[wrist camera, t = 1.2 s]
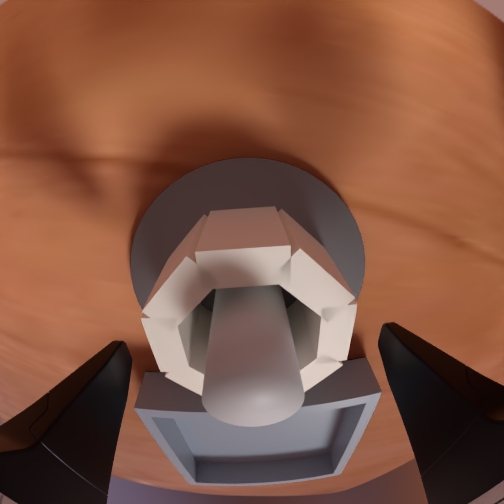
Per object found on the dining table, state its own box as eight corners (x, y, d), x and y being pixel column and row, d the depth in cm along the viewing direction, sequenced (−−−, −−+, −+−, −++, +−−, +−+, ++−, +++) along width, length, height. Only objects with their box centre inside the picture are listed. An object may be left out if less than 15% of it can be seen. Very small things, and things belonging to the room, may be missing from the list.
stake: (367, 155, 11) (481, 193, 5) (346, 349, 16) (384, 448, 9) (114, 173, 11) (4, 228, 5) (162, 361, 16) (137, 463, 9)
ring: (328, 203, 11) (365, 240, 8) (317, 356, 15) (333, 413, 11) (158, 216, 11) (123, 256, 8) (192, 364, 15) (183, 422, 11)
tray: (366, 357, 16) (382, 392, 13) (334, 449, 22) (340, 474, 19) (145, 371, 16) (134, 408, 13) (191, 459, 22) (189, 484, 19)
